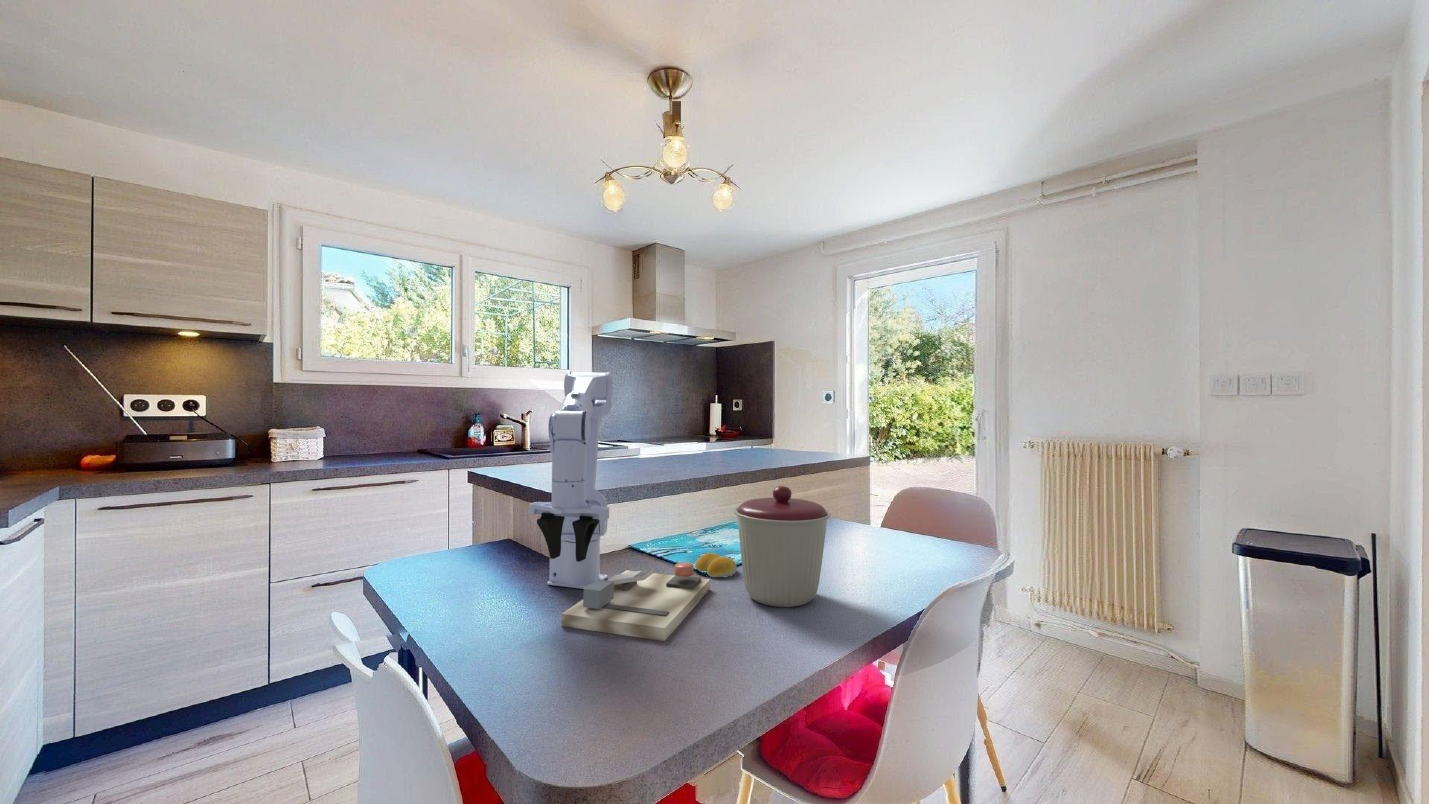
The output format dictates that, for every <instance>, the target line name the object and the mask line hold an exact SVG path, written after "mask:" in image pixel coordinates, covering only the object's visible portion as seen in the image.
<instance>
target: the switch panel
mask: <svg viewBox="0 0 1429 804" xmlns="http://www.w3.org/2000/svg"><path fill="white" fill-rule="evenodd" d="M631 572H637V570H627V569H626V570H624V571H623V572H622V573H620V574H625V573H631ZM709 589H710V590H711V579H709V578H702V577H697V576H688V577H680V576H676V575H675V574H665V573H664V574H663V573H656V572H655V573H654V572H653V574H652V575H650V576H649V577H648V578H646V579H645V580H641V581H635V582H628V583H622V584H615V585H614V599H612V600H611V601H610V602H608V603H607V604H606V605H604V606H603V607H602V608H600V609H595V608H587V607H583V599H581V600H579V601H578V602H577V603H576V604H574V605H573V606H571V607H570V608H568V609H566V610H565V611H564V612H562V613H561V623H560V624H561V627H566V628H573V629H579V630H586V631H593V632H599V633H600V632H601V633H607V634H613V635H620V636H628V637H632V638H633V637H634V638H641V639H648V640H655V641H662V642H665V641H667V640H668V638H669V637H670V636H671V635H672V634H673V632H674V631H675V630H677V628H678V627H679V626H680V624H681V623H682V622H683V621H684V620H685V619H686V617H687V616H688V615H689V614H690V613H691V612H692V611H693V609H695V607H696V606H697V605H698V604H699V602H700V601H701V600H702V599H703V598H704V597H705V596H706V595H707V594H708V592H709V591H710V590H709ZM708 590H709V591H708ZM707 591H708V592H707ZM705 594H706V595H705ZM704 595H705V596H704ZM702 597H703V598H702Z"/></svg>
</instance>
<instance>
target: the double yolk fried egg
mask: <svg viewBox="0 0 1429 804" xmlns="http://www.w3.org/2000/svg"><path fill="white" fill-rule="evenodd" d="M694 568H697V569H698V570H700V571H707V574H708V575H710V576H712V577H723V576H730V577H732V576H731V575H733V574H734V575H735V574H736V573H737V563H736V562H735V560H733V559H732V557H731V558H730V557H726V556H721V555H719V554H717V553H714V552H707V553H704V554H702V555H701V556H700V557H699V558H698V559H697V560H696V561H695V563H694ZM734 575H733V576H734Z"/></svg>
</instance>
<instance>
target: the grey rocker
mask: <svg viewBox="0 0 1429 804" xmlns="http://www.w3.org/2000/svg"><path fill="white" fill-rule="evenodd" d="M636 571H637V570H636ZM653 573H654V571H653V568H648V569H642V570H638V571H637V572H631V573H625V574H621V573H619V574H614V575H612V576H610V577H609V578H607V579H606V580H607V581H614V585H615V584H622V583H628V582H635V581H641V580H645V579H646V578H648V577H649V576H650V575H652V574H653Z"/></svg>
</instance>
